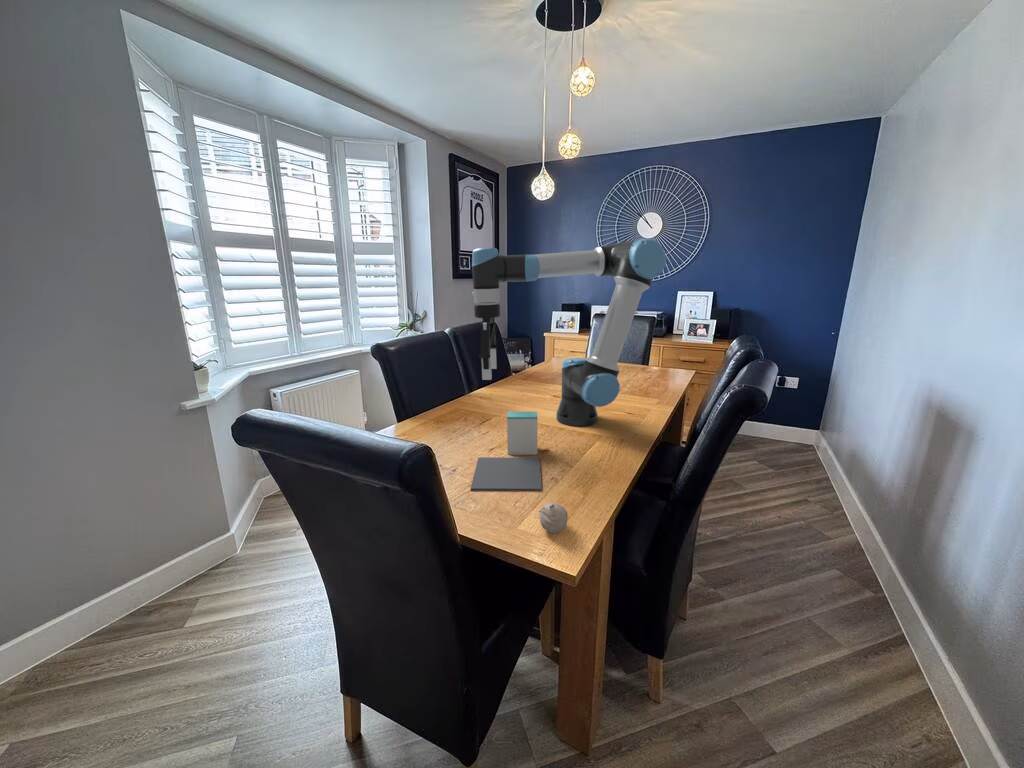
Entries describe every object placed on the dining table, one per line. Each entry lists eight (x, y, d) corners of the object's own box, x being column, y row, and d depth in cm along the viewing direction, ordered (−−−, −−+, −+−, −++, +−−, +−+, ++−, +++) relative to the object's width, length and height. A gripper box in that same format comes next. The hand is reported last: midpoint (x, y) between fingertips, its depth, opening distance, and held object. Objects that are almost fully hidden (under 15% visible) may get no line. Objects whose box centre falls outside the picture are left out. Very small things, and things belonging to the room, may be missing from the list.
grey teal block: (536, 447, 130) (537, 411, 127) (537, 454, 125) (537, 417, 122) (508, 447, 130) (507, 411, 127) (507, 454, 125) (507, 417, 122)
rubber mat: (539, 459, 122) (539, 457, 121) (541, 490, 104) (541, 488, 104) (478, 459, 122) (478, 457, 122) (470, 490, 105) (470, 488, 105)
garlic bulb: (532, 530, 89) (532, 497, 86) (550, 517, 93) (550, 485, 91) (557, 543, 84) (558, 508, 82) (574, 528, 89) (575, 495, 87)
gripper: (480, 300, 133) (483, 364, 139) (466, 307, 109) (471, 384, 115) (503, 300, 133) (505, 364, 138) (495, 307, 109) (497, 384, 114)
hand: (489, 373), depth 127 cm, fingers open, 13 cm apart
